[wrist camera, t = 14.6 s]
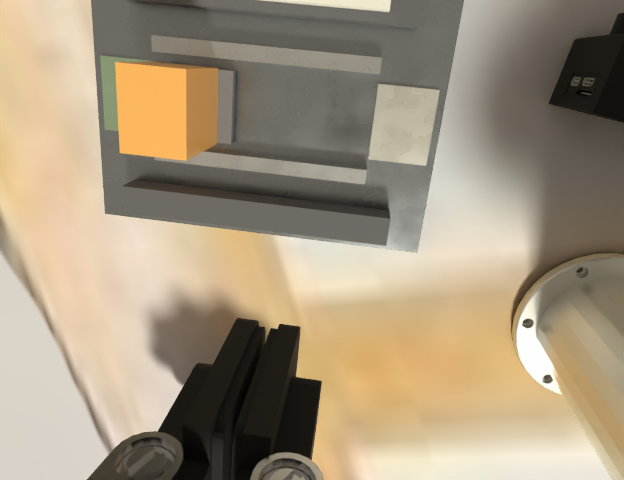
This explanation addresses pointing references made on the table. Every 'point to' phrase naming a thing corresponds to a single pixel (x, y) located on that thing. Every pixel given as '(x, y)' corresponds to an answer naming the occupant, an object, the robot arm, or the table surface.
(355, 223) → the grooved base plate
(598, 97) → the digital camera
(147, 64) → the toggle
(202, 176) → the panel
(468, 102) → the table surface
